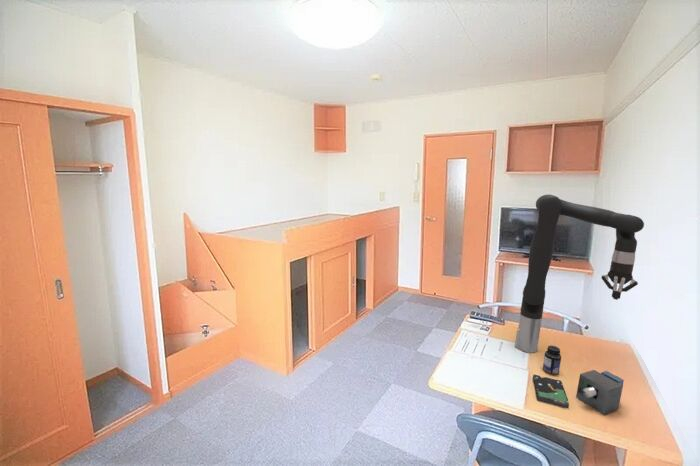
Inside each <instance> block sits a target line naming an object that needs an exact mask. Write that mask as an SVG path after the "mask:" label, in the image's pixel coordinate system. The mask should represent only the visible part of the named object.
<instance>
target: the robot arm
mask: <svg viewBox="0 0 700 466" xmlns="http://www.w3.org/2000/svg"><path fill="white" fill-rule="evenodd" d="M535 207H536V210H537V211H538V217H537V218H538V219H537V226H536V229H535V231H534V233H533V235H532V236H533V237H532V239H531V242H530V247H529V251H528V252H529V253H528V254H529V255H528V269H527V270H528V271H527V274H528V275H527V278H526V282H525V285H524V287H523V290H522V300H521V307H520V312H519V321H518V327H517V329H516V335H515V336H516V338H515V344H514V345H515V346H514V347H515V348H516V349H518V350H520V351H522V352H525V353H528V354H529V353H530V354H531V353H532V354H533V353H536V352H538V347H539V339H540V334H541V327H542V321H543V314H544V307H545V306H544V305H545V299H546V280H547V275H548V272H549V270H550V266H551V263H552V259H553V255H554V254H553V253H554V250H555V249H554V247H555V240H556V231H557V224H558V223H559V222H558V221H559V218H560V216H565V217H569V218H571V219H572V218H573V219H576V220H579V221H583V222H585V223H589V224H593V225H598V226H601V227H607V228H611V229H612V228H613V229H615V239H616V241H615V244H614V250H613V253H612V256H611V261H610V262H611V263H610V267H609V271H607V274H604V275H601V280H602V281H603V283H604V284H605V285H606V287H607V288H608V289H609V290H612V293H611V297H612V298H613V300H616V301H617V300H620V298H621V294H622V292H624V293H626V292H628V291H630V290H631V289H633V288H634V287H637V286H638V285H639V282H638V281H637V280H635V279H634V278H633V271H634V266H635V262H636V261H635V260H636V251H637V246H638V240H637V239H636V236H635V235H636V233H638V232H641V231H642V230H643V229H644V227H645V223H644V220H643V219H642V218H641V217H639V216H636V215H632V214H625V213H621V212H615V211H613V210H609V209H605V208H600V207H595V206H589V205H585V204H580V203H579V204H578V203H574V202H570V201H567V200H564V199H561V198H559V197H558V196H556V195H552V194H544V195H541V196H539V197H538V198H537V200H536V202H535ZM609 279H610V281H611V283H612V284H613V285H612V284H611V283H610V281H609ZM627 283H629V284H628V285H626V284H627ZM624 285H626V286H625V287H624Z"/></svg>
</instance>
